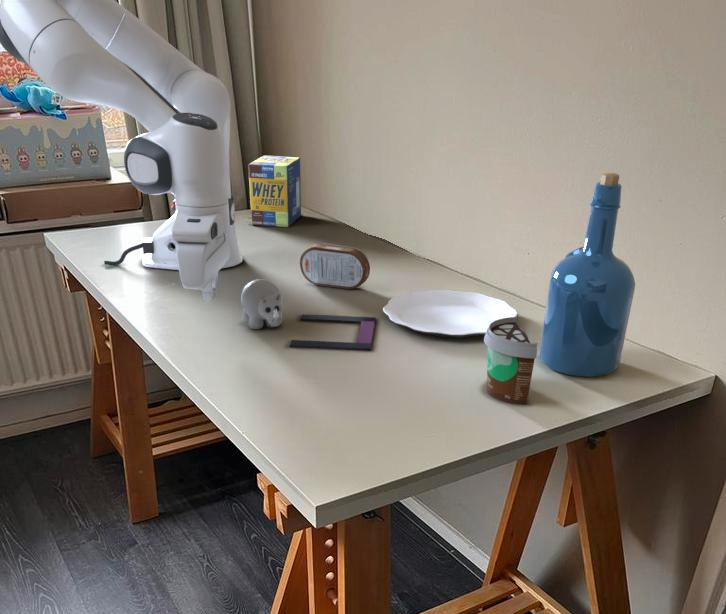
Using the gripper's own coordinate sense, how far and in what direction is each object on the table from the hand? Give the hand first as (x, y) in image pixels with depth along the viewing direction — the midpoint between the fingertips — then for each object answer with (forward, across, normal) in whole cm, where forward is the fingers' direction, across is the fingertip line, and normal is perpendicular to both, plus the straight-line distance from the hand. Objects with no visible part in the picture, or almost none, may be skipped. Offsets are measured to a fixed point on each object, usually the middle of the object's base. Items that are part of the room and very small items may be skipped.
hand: (210, 299), depth 139 cm
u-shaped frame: (+5, 0, +22) cm, 23 cm away
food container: (+5, +22, +51) cm, 55 cm away
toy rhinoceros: (+6, 0, +10) cm, 11 cm away
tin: (+5, -28, +19) cm, 34 cm away
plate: (+5, -10, +43) cm, 45 cm away
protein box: (+6, -86, -3) cm, 86 cm away
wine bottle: (+5, +9, +64) cm, 65 cm away
